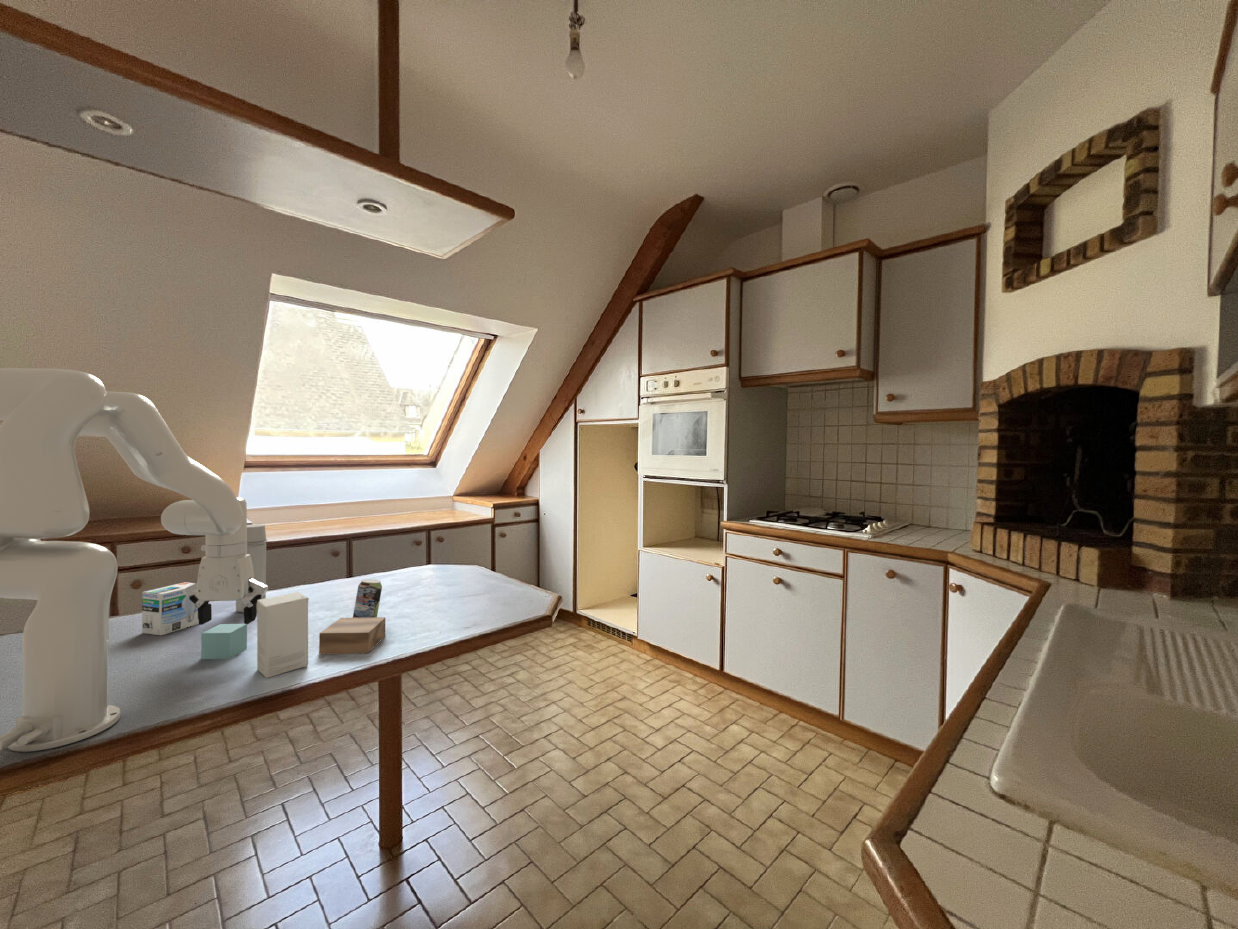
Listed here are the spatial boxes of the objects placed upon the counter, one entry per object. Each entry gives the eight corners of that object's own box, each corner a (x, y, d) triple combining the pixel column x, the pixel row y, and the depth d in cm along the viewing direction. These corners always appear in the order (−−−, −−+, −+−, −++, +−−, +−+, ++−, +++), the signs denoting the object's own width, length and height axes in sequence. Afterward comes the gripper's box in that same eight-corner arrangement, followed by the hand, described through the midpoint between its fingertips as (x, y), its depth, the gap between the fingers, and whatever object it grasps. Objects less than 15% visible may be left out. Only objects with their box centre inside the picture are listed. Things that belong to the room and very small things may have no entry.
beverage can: (347, 624, 135) (348, 581, 135) (371, 617, 142) (372, 576, 141) (362, 629, 132) (362, 584, 132) (386, 621, 139) (386, 579, 138)
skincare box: (298, 658, 113) (300, 591, 112) (309, 667, 108) (310, 597, 108) (254, 670, 106) (256, 598, 106) (264, 679, 102) (265, 605, 102)
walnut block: (368, 653, 116) (368, 632, 116) (319, 654, 115) (319, 633, 115) (385, 636, 127) (385, 617, 127) (340, 637, 126) (340, 617, 126)
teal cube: (229, 659, 112) (230, 632, 112) (201, 659, 111) (201, 633, 111) (246, 648, 118) (247, 623, 118) (219, 649, 117) (219, 624, 117)
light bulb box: (160, 636, 124) (161, 593, 123) (140, 633, 125) (140, 591, 125) (204, 622, 134) (205, 583, 134) (184, 620, 135) (185, 581, 135)
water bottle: (247, 605, 149) (248, 523, 149) (272, 606, 149) (274, 524, 149) (222, 615, 140) (223, 528, 140) (248, 616, 140) (250, 528, 139)
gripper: (173, 553, 109) (174, 629, 110) (256, 553, 111) (257, 627, 112) (198, 546, 117) (199, 617, 118) (276, 546, 119) (276, 616, 120)
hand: (227, 622), depth 115 cm, fingers open, 9 cm apart
